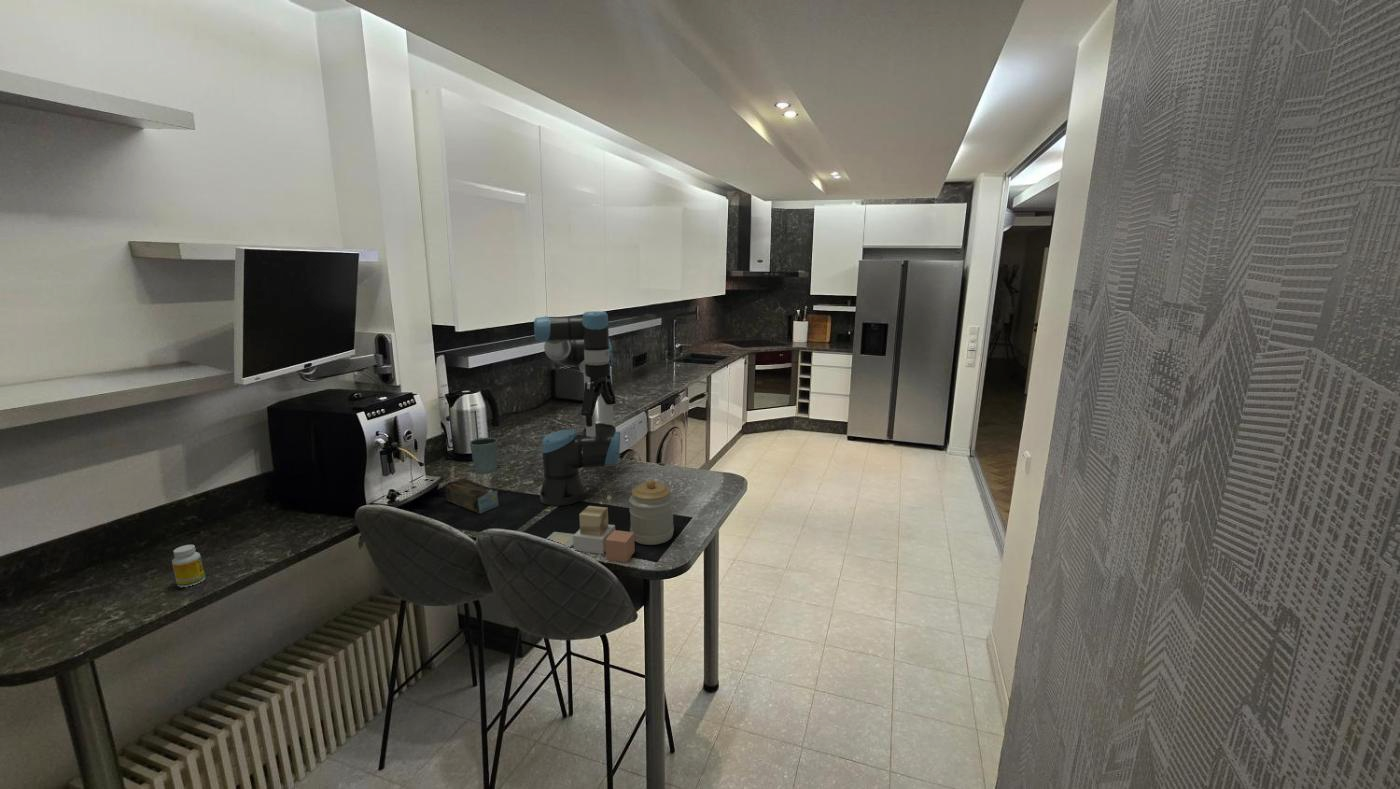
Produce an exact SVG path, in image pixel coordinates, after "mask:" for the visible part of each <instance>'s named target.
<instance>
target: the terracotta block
mask: <svg viewBox="0 0 1400 789" xmlns="http://www.w3.org/2000/svg"><path fill="white" fill-rule="evenodd" d="M605 541H606V552H605V560H608V561H613V562H614V561H615V562H622V563H628V562H629V560H630V559H631V558H632V556H633V554H634V553H635V552H636V549H635V546H636V545H635V541H634V532H630V531H626V530H625V531H624V530H616V529H615V530H614V531H613V532H612V533H611V534H610V535H609V536H608V537H607V539H606V540H605Z"/></svg>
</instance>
